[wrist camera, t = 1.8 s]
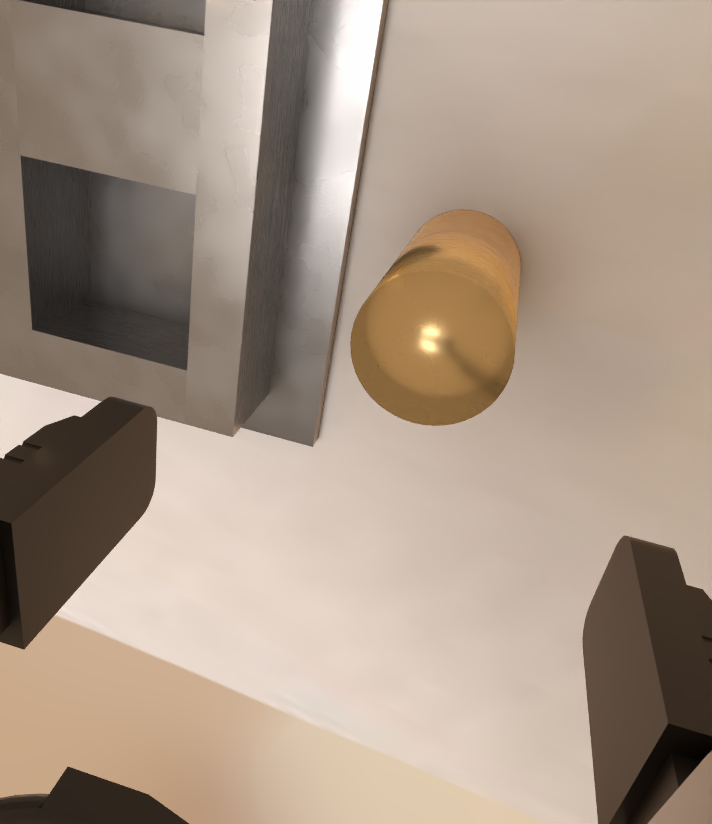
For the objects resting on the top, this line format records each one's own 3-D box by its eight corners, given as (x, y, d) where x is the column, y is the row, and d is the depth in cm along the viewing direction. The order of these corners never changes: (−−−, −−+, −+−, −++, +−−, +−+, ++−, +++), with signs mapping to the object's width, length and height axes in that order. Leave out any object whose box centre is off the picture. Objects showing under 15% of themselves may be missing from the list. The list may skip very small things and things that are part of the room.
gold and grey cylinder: (535, 224, 25) (536, 292, 17) (503, 335, 27) (490, 442, 19) (417, 198, 25) (364, 253, 17) (395, 309, 27) (339, 403, 19)
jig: (447, -368, 19) (372, -748, 10) (317, 438, 31) (234, 577, 22) (-38, -419, 20) (-448, -774, 12) (21, 358, 33) (-159, 458, 24)
